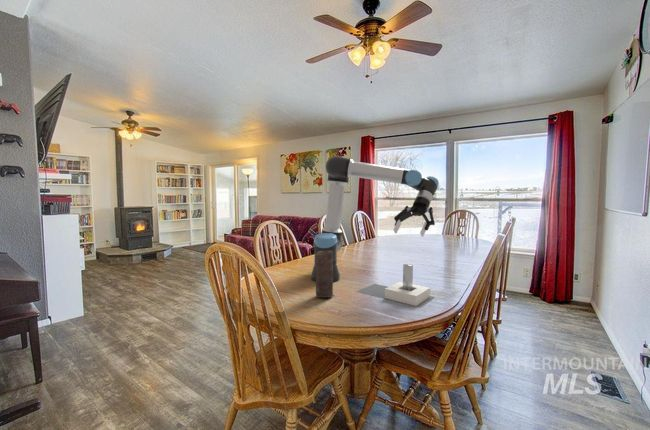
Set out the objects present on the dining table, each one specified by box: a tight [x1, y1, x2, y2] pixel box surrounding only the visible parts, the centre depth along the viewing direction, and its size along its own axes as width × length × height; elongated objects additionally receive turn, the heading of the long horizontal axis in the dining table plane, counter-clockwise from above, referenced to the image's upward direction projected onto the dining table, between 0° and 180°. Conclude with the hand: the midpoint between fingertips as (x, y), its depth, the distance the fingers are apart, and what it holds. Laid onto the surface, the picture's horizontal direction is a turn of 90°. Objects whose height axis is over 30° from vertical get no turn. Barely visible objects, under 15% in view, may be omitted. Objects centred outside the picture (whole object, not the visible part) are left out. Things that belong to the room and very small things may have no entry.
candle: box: [315, 251, 334, 299], centre depth 130 cm, size 8×7×20 cm
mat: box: [356, 283, 436, 309], centre depth 133 cm, size 30×16×1 cm, turn 50°
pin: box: [402, 263, 414, 291], centre depth 129 cm, size 4×4×14 cm
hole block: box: [385, 281, 431, 306], centre depth 129 cm, size 14×14×4 cm
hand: (407, 233), depth 143 cm, fingers open, 13 cm apart
